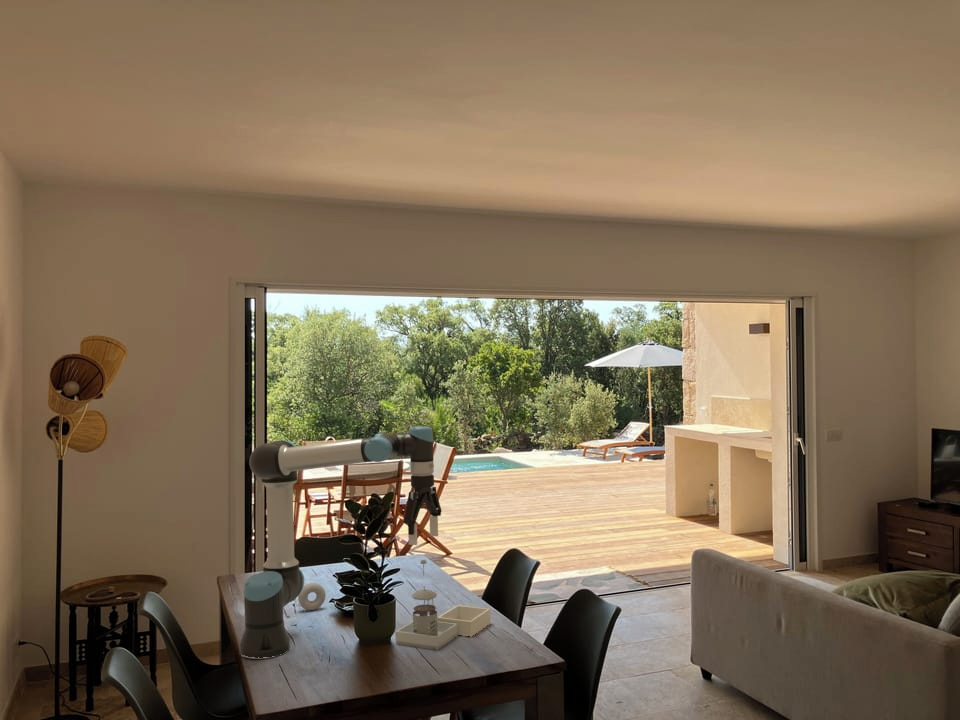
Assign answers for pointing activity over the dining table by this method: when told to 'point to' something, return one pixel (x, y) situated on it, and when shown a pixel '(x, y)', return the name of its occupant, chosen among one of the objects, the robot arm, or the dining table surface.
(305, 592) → the donut
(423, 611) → the french press
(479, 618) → the cream open box
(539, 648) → the dining table surface
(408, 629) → the tray
